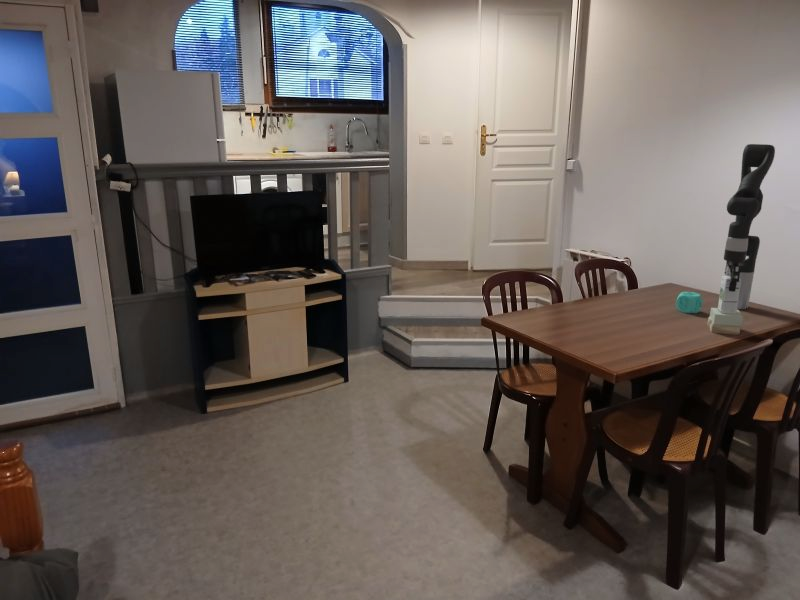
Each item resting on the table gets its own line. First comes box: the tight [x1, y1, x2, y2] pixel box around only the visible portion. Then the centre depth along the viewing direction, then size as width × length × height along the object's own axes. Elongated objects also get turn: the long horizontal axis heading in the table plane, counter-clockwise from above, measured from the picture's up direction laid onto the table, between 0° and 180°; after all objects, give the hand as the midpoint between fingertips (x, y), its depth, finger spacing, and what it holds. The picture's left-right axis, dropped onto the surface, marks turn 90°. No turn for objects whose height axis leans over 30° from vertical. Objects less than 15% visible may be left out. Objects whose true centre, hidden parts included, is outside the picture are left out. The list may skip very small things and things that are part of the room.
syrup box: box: [717, 275, 741, 314], centre depth 234 cm, size 6×6×14 cm
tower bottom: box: [706, 316, 742, 336], centre depth 238 cm, size 10×10×4 cm
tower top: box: [709, 307, 744, 327], centre depth 236 cm, size 10×10×4 cm
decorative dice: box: [675, 291, 704, 314], centre depth 262 cm, size 8×8×8 cm
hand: (729, 288), depth 233 cm, fingers open, 8 cm apart
